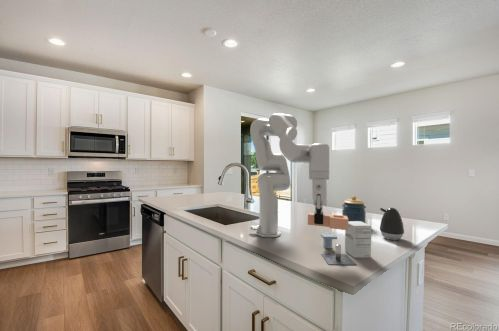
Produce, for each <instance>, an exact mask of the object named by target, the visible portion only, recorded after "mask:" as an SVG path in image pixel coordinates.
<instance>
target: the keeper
mask: <svg viewBox="0 0 499 331" xmlns="http://www.w3.org/2000/svg"><path fill="white" fill-rule="evenodd" d="M320 236H321V238H322V239H323V247H324V249H332V248H333V240H338V236H336V234H334V233H331V232H323V233H320Z"/></svg>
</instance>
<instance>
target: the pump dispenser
mask: <svg viewBox="0 0 499 331" xmlns="http://www.w3.org/2000/svg"><path fill="white" fill-rule="evenodd" d="M379 210H380V211H381V212H383V215H382V218H381V220H380V225H379V231H380V234H381V236H382V237H383V238H385V239H386V240H389V241H399V240H400V239H402V237H403V235H404V234H405V227H404V221H403V219H402V217H401V214H400V213H399V211H398V209H397V208H394V207H388V208H387V209H385V208H383V207H380V208H379Z"/></svg>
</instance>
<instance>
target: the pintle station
mask: <svg viewBox="0 0 499 331" xmlns="http://www.w3.org/2000/svg"><path fill="white" fill-rule="evenodd" d="M334 246H335V247H334V250H335V251H334V253H321V254H320V255H321V256H322V257H323V259H324V260H325V262H326V264H327V265H328V266H330V265H331V266H357V263H356V262H355V261H354V260H353V259H352V258H351V257H350V256H349V254H348V253H342V246H341V244H338V243H337V244H336V243H335V245H334Z"/></svg>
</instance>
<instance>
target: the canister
mask: <svg viewBox="0 0 499 331" xmlns="http://www.w3.org/2000/svg"><path fill="white" fill-rule="evenodd" d="M364 204H365V202H364V201H363V200H361V199H359V198H358V199H357V196H355V195H352V196H351V198H346V199H345V200H343V204H341V206H342V210H341V212H342V215H343V216H347V217H348V221H361V222H364V223H366V218H367V217H366V213H367V212H366V208H367V207H366V205H364ZM366 224H367V223H366Z"/></svg>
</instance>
